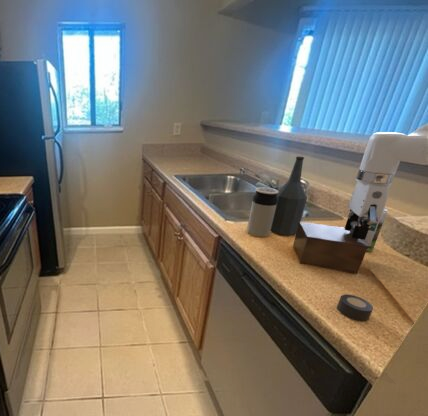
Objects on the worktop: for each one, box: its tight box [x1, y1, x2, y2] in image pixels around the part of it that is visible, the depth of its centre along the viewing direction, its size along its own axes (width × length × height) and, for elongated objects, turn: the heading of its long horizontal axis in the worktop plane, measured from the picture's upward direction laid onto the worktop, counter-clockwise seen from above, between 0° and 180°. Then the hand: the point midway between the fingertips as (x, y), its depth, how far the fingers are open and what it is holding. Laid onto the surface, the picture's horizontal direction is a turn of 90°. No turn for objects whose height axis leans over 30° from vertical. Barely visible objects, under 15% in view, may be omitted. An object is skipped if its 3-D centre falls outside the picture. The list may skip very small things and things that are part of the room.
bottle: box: [270, 155, 308, 237], centre depth 105 cm, size 10×10×30 cm
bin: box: [292, 225, 367, 275], centre depth 89 cm, size 15×13×9 cm
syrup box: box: [362, 208, 389, 253], centre depth 95 cm, size 6×6×14 cm
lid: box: [299, 221, 372, 249], centre depth 86 cm, size 15×13×5 cm
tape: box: [336, 294, 374, 322], centre depth 67 cm, size 6×6×3 cm
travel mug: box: [246, 186, 279, 238], centre depth 105 cm, size 8×8×18 cm
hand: (354, 233), depth 85 cm, fingers closed on lid, 5 cm apart
